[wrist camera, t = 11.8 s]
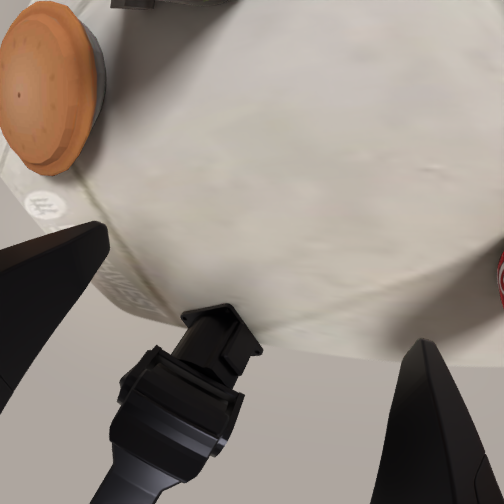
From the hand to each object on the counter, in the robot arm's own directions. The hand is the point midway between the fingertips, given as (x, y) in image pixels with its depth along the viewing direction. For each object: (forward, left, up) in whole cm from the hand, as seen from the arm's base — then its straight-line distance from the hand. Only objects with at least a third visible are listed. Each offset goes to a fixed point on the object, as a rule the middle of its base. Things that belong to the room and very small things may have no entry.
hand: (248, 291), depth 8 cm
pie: (-16, +16, -13) cm, 26 cm away
